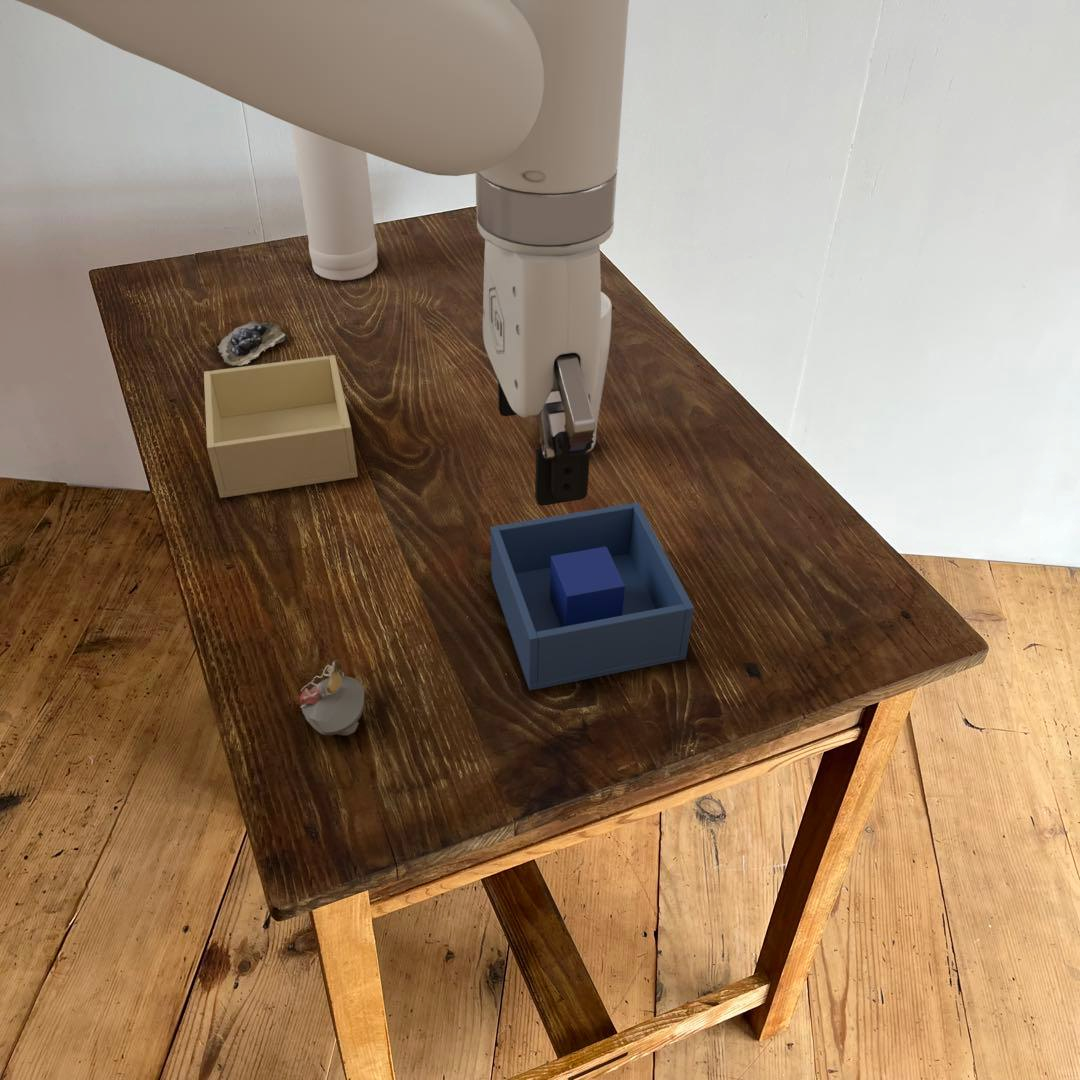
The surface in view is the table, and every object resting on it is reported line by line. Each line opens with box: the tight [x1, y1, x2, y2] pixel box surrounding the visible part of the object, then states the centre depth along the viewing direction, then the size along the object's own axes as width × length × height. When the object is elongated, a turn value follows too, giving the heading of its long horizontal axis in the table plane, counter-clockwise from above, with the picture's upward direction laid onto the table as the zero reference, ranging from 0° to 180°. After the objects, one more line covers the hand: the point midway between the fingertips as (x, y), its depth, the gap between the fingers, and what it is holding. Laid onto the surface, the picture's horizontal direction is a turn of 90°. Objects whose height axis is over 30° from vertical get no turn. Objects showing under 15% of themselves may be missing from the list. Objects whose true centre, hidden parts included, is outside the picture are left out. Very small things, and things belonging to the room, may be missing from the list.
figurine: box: [299, 658, 365, 736], centre depth 70 cm, size 5×4×6 cm
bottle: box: [290, 123, 379, 282], centre depth 112 cm, size 8×8×30 cm
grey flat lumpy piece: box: [217, 320, 287, 367], centre depth 108 cm, size 7×8×2 cm
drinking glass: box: [539, 291, 613, 450], centre depth 91 cm, size 7×7×15 cm
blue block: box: [550, 547, 625, 627], centre depth 78 cm, size 4×4×4 cm
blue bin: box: [489, 501, 695, 691], centre depth 78 cm, size 12×12×6 cm
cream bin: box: [203, 354, 359, 499], centre depth 93 cm, size 12×12×6 cm
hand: (540, 453), depth 66 cm, fingers open, 9 cm apart
